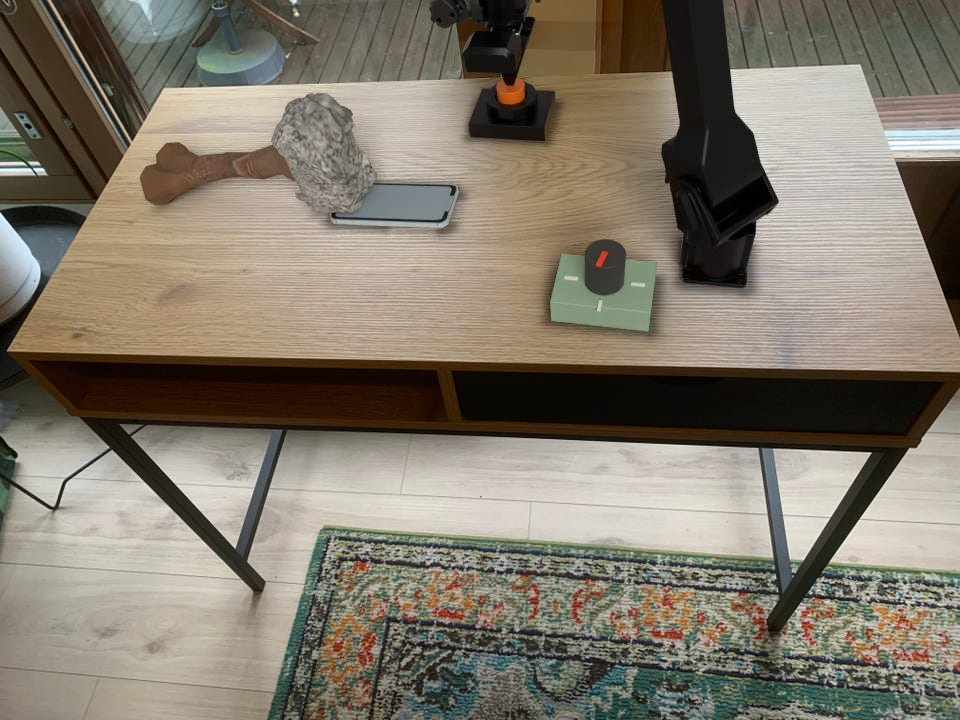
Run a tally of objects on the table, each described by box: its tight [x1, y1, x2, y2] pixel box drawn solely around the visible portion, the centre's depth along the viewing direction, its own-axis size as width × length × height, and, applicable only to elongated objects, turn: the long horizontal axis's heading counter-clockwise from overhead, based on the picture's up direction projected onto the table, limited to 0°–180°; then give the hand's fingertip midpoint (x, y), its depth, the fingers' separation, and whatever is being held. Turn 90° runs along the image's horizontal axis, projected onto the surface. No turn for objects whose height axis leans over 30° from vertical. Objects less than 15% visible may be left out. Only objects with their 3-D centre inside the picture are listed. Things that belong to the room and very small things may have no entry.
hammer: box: [139, 92, 378, 214], centre depth 90 cm, size 15×10×30 cm
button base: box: [468, 80, 556, 142], centre depth 98 cm, size 10×8×4 cm
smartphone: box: [329, 181, 460, 229], centre depth 91 cm, size 7×1×15 cm
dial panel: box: [549, 253, 658, 332], centre depth 77 cm, size 10×8×3 cm
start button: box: [496, 77, 525, 104], centre depth 96 cm, size 4×4×2 cm
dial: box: [584, 238, 627, 295], centre depth 74 cm, size 4×4×4 cm
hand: (510, 83), depth 95 cm, fingers closed
